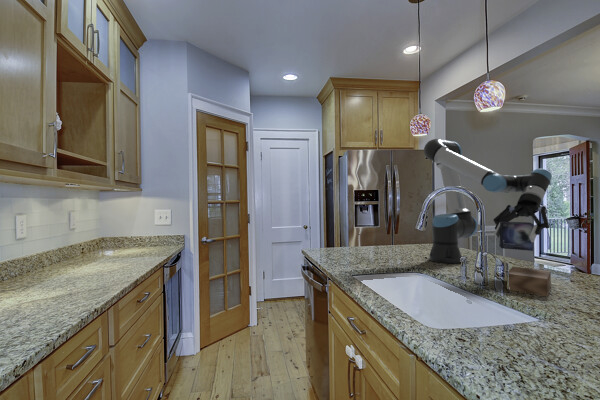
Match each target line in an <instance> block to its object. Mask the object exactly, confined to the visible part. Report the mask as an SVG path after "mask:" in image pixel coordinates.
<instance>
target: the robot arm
mask: <svg viewBox="0 0 600 400" xmlns="http://www.w3.org/2000/svg"><path fill="white" fill-rule="evenodd" d="M462 153H463V150H462V146H461V145H460V144H459V143H457V142H456V141H454V140H449V139H447V140H446V139H442V138H441V139H440V138H434V139H433V138H432V139H431V140H429V141H427V142H426V144H425V145H424V147H423V154H424V156H425V158H427V159H428V160H429V161H431V162H434V163H435V164H436V167H437V168H439V170H440V173H441V178H442V183H443V188H444V187H446V186H461V187H462V188H463V186H462V180H461V175H462V176H464V177H466V178H468V179H470V180H472V181H474V182H475V183H478V184H479V185H482V186H483V187H484V189H485V190H486V191H487V192H490V193H491V192H492V193H507V194H508V193H521V194H520V196H519V198H518V200H517V203H516V205H514V206H512V205H511V204H508V205H506V207H505V209H504V210H502V211H501V212H500V213H498V215H496V217H494V218H493V219H492V220H493V222H494V224H495V227H494V229H495V230H494V233H493V235H494V237H495V239H500V221H503V222H512V220H514V219H515V218H516V219H518V218H519V217H525V218H529V217H530V218H531V219H532V220H533V221H534V223H535V224H534V227H533V230H532V232H531V234H530V237H529V238H530V241H531V242H533V243H534V242H535V241H536V238H537V235H538V236H539V235H541V232H542V230H543V229H549V228H550V225H549V221H548V216H547V213H548V209H547V206H545V205H542V202H543V200H544V198H545V195H546V192H547V190H548V187H549V186H550V184H551V182H552V181H551V180H552V178H553V175H552V173H551V172H550V171H549V170H547V169H545V168H537V169H534V170H533V171H531V172H530V174H524V175H523V174H521V175H506V174H505V175H504V174H500V173H498V172H496V171H494V170H491V169H490V168H488V167H486V166H484V165H481V164H479V163H477V162H475V161H473V160H471V159H469V158H467V157H465V156H463V154H462ZM460 174H461V175H460ZM444 193H445V192H444ZM445 197H446V203H447V208H448V211H447V213H442V214H437V215H434V216H433V218H432V222H431V223H432V224H431V225H432V247H431V250H430V252H429V255H428V258H429V260H430V261H431V262H436V263H443V264H461V263H460V258H461V257H462V258H463V256H462V253H461V250H460V247H459V239H467V238H470V237H472V236H474V235H475V234H476V233H477V231H478V229H477V223H478V221H477V219H476V218H475V217H474V216H472V211H471V210H469V209H468V207H467V205H466V200H465V195H464V193H463V194H462V193H459V192H452V191H450V192H446V193H445ZM541 205H542V206H541ZM540 206H541V207H540ZM538 212H539V213H540V214H541V218H542V221H543V222H541V220H540V219H539V218H538V217H537V215H536V213H538Z"/></svg>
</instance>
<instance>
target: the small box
mask: <svg viewBox="0 0 600 400" xmlns="http://www.w3.org/2000/svg"><path fill="white" fill-rule="evenodd" d="M534 225H535V224H534V223H532V222H523V221H522V222H521V221H509V222H503V221H500V235H499V244H498V245H499V248H500V249H502V250H503V249H505V250H508V249H509V250H518V251H519V250H520V251H529V252H531V251H532V252H533V251H534V242H531V241H530V238H529V237H530V234H531V232H532V230H533V227H534Z"/></svg>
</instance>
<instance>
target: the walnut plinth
mask: <svg viewBox="0 0 600 400" xmlns="http://www.w3.org/2000/svg"><path fill="white" fill-rule="evenodd" d="M508 271H509V287H510V290H513V291H512V292H515V291H520V292H519V293H521V292H526V293H525V294H527V293H532V294H531V295H533V294H538V295H537V296H539V295H542V296H541V297H545V296H547V297H546V298H548V297H549V294H550V291H551V287H552V278H551V275H552V274H551V272H552V270H544V269H537V268H526V267H519V266H511V268H510V269H509V270H508Z"/></svg>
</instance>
